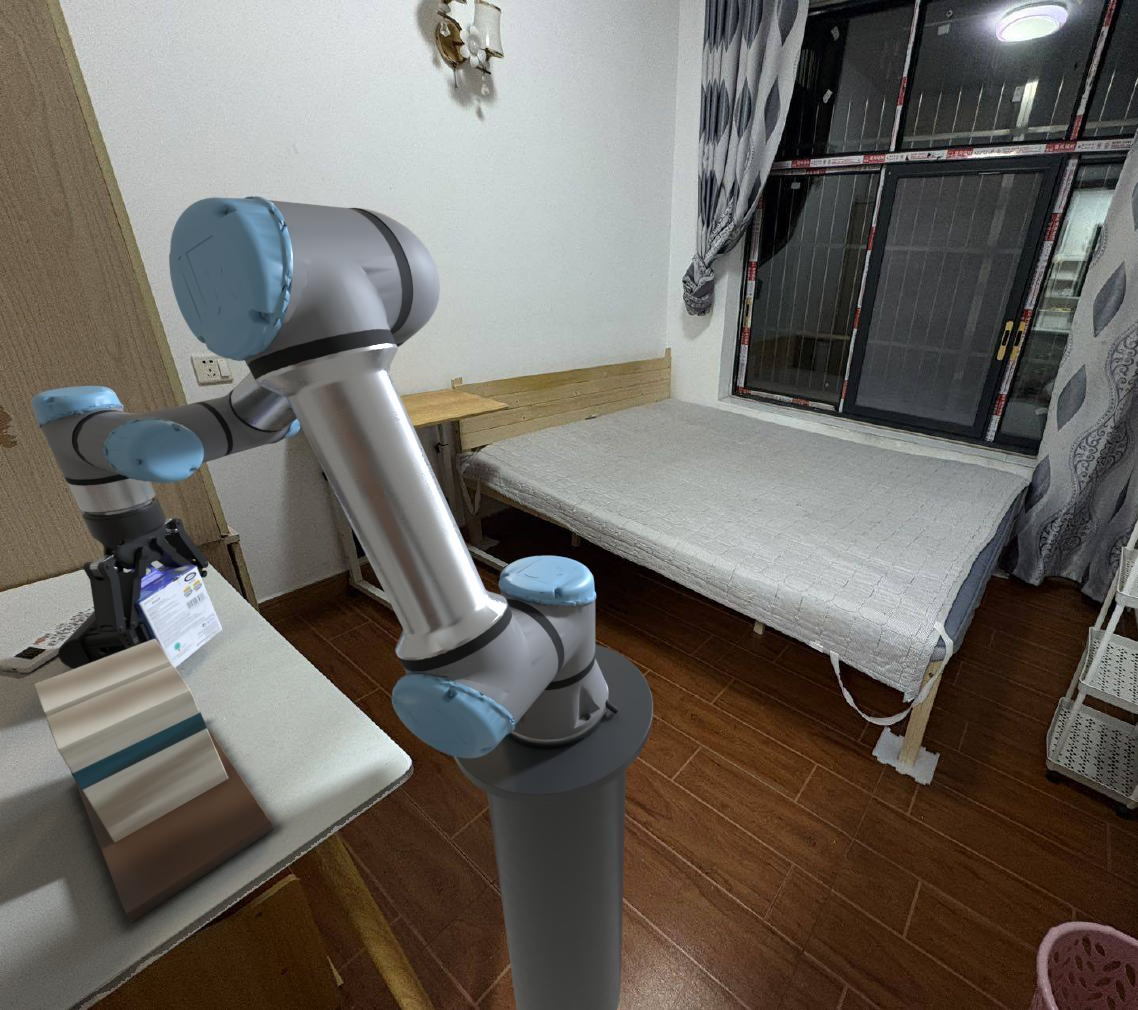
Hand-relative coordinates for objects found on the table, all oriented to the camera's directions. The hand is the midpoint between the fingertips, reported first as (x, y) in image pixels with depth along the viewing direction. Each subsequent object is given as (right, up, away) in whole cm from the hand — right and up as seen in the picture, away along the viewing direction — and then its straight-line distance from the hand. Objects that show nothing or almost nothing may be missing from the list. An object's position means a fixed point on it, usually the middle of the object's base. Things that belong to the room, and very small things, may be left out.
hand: (177, 636), depth 83 cm
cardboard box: (+18, -15, -20) cm, 31 cm away
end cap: (-11, -3, +2) cm, 11 cm away
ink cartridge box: (0, -2, +1) cm, 2 cm away
